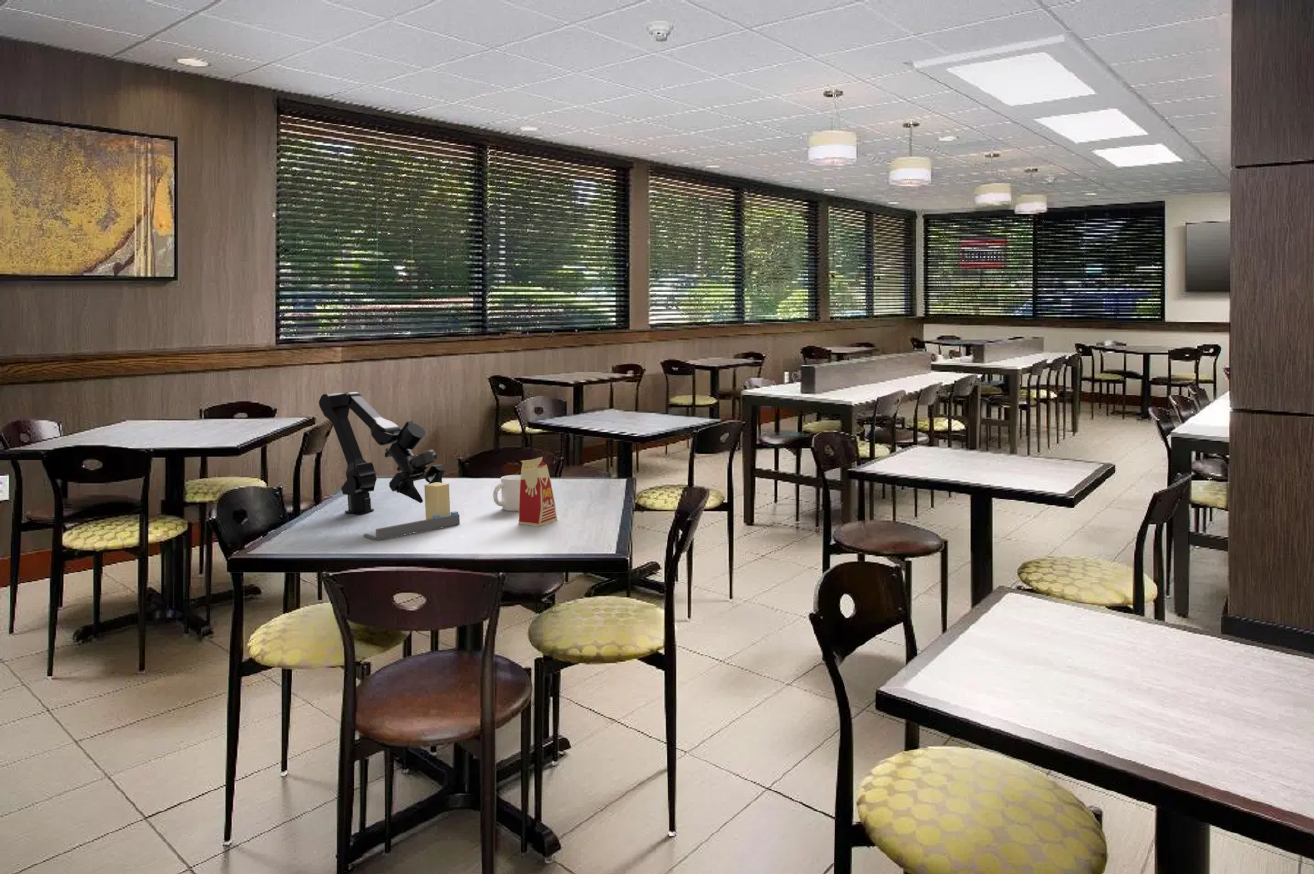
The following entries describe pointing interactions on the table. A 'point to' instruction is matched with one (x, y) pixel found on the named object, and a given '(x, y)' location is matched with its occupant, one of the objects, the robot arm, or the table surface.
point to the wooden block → (437, 499)
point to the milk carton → (536, 494)
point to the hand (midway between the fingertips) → (433, 499)
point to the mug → (508, 492)
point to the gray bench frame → (416, 526)
